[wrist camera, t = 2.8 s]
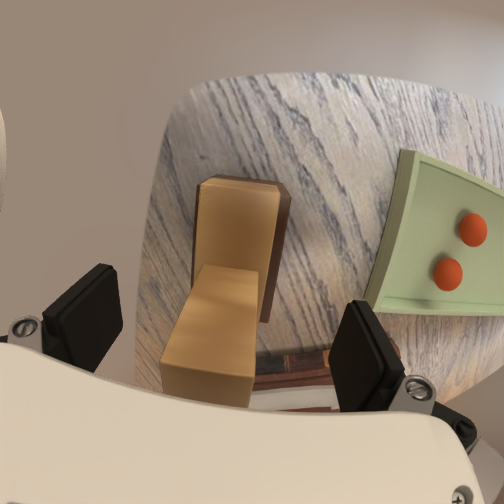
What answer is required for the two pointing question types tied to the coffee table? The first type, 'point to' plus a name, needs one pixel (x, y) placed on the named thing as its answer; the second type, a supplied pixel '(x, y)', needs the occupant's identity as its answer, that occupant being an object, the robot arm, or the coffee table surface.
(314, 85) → the coffee table surface
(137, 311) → the coffee table surface
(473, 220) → the orange ball
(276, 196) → the wooden block
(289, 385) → the book
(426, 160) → the tray
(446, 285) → the orange-red sphere
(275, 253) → the stand
